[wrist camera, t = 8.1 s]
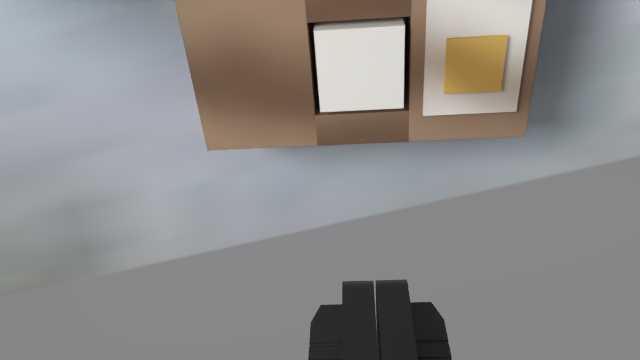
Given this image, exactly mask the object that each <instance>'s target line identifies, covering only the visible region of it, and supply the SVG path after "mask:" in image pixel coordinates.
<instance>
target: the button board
mask: <svg viewBox="0 0 640 360" xmlns="http://www.w3.org/2000/svg"><path fill="white" fill-rule="evenodd" d="M174 1H175V5H176V10H177V14H178V19H179V23H180V28H181V32H182V37H183V41H184V46H185V50H186V55H187V59H188V64H189V69H190V73H191V78H192V82H193V87H194V91H195V96H196V100H197V105H198V109H199V114H200V118H201V123H202V127H203V132H204V136H205V141H206V146H207V150H228V149H251V148H273V147H296V146H319V145H341V144H364V143H387V142H409V141H432V140H454V139H477V138H500V137H522V136H525V132H526V126H527V120H528V113H529V107H530V101H531V94H532V88H533V82H534V75H535V69H536V63H537V56H538V50H539V44H540V37H541V31H542V25H543V18H544V12H545V6H546V0H174ZM393 17H402V18H403V21H404V24H405V47H404V108H398V109H377V110H357V111H336V112H320V103H319V91H318V78H317V66H316V54H315V42H314V25H315V22H327V21H343V20H360V19H376V18H393Z"/></svg>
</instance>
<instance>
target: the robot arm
mask: <svg viewBox="0 0 640 360" xmlns="http://www.w3.org/2000/svg"><path fill="white" fill-rule="evenodd" d="M342 289H343V292H342V296H343V299H342V301H343V303H342V304H341V305H321V306H320V308H319V309H318V311H317V313H316V315H315V316H314V318H313V320H312V322H311V328H310V347H309V359H308V360H452V359H451V353H450V347H449V344H448V337H447V332H446V327H445V322H444V319H443V318H442V316H441V315H440V314H439V312H438V311H437V310H436V308H435V307H434V305H433V304H432V303H431V302H416V303H410V297H409V291H408V283H407V280H376V316H375V301H374V285H373V281H348V282H347V281H345V282H343V288H342ZM376 319H377V331H376ZM377 345H378V347H377Z"/></svg>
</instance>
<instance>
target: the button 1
mask: <svg viewBox="0 0 640 360" xmlns="http://www.w3.org/2000/svg"><path fill="white" fill-rule="evenodd" d="M314 42H315V54H316V66H317V78H318V91H319V103H320V112H336V111H357V110H377V109H398V108H404V47H405V24H404V21H403V18H402V17H393V18H376V19H360V20H343V21H327V22H315V25H314Z"/></svg>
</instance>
